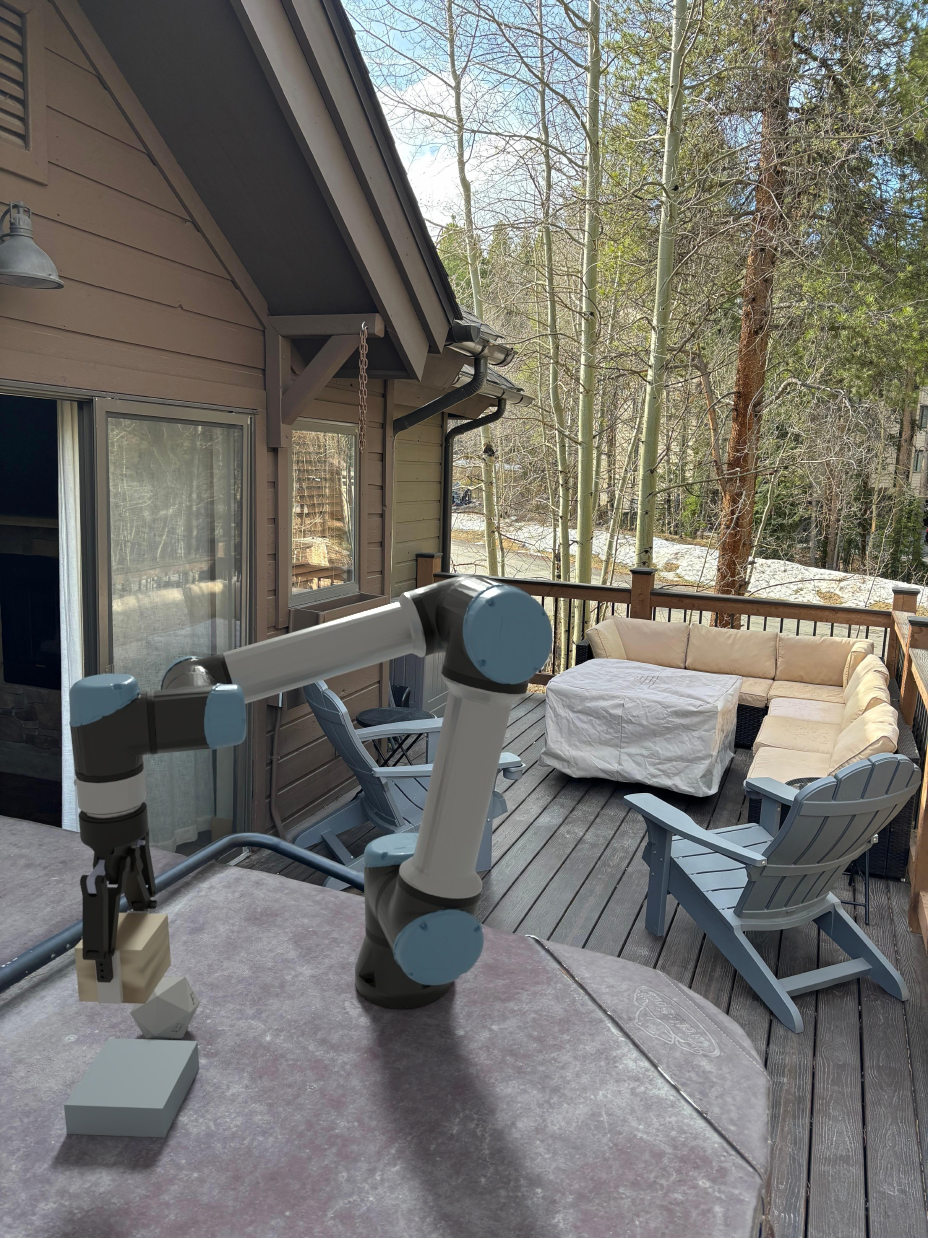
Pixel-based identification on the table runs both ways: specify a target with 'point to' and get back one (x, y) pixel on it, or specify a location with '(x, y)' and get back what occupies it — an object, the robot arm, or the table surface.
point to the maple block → (132, 958)
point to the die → (167, 1009)
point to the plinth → (132, 1088)
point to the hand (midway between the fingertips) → (126, 979)
